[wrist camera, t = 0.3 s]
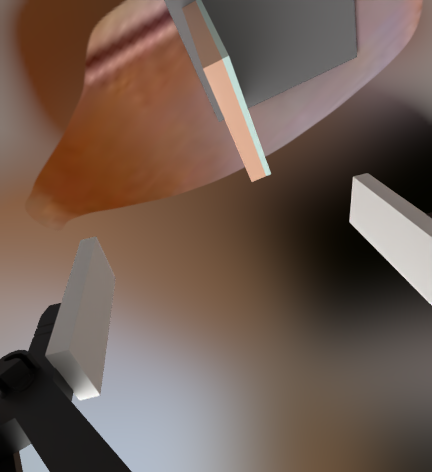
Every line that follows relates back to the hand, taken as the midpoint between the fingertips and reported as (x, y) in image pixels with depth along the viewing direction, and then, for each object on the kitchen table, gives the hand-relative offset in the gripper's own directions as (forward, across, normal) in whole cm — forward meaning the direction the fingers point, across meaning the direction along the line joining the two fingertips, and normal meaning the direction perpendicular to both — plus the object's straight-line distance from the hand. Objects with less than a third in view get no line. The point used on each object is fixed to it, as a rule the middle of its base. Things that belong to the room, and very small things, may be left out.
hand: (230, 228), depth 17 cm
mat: (+27, +11, +7) cm, 30 cm away
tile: (+27, +4, +4) cm, 27 cm away
